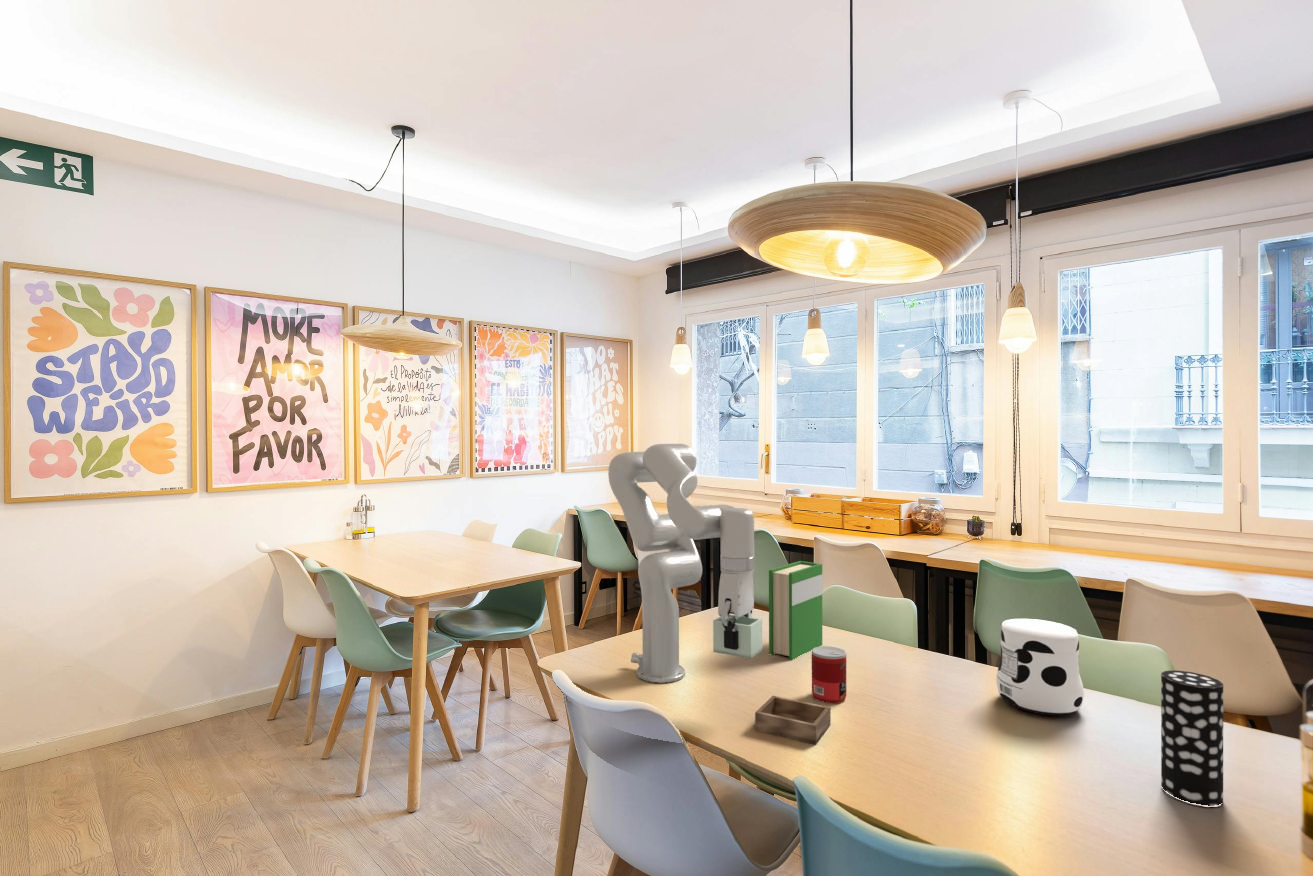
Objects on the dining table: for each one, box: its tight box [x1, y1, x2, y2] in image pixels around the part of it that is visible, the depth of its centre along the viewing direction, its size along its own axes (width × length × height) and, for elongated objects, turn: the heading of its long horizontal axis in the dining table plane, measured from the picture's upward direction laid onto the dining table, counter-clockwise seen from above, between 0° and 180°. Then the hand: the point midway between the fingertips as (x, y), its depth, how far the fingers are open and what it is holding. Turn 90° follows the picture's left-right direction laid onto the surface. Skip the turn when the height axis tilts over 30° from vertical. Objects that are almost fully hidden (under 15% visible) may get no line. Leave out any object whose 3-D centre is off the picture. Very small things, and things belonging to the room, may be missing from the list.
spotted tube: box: [1160, 669, 1224, 806], centre depth 114 cm, size 8×8×20 cm
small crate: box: [712, 614, 763, 660], centre depth 148 cm, size 9×6×7 cm
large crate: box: [754, 695, 832, 746], centre depth 141 cm, size 13×10×4 cm
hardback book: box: [768, 560, 823, 661], centre depth 192 cm, size 18×7×24 cm, turn 139°
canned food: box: [811, 645, 847, 704], centre depth 157 cm, size 8×8×11 cm
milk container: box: [995, 618, 1085, 716], centre depth 152 cm, size 17×17×18 cm
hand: (737, 643), depth 148 cm, fingers closed on small crate, 6 cm apart
